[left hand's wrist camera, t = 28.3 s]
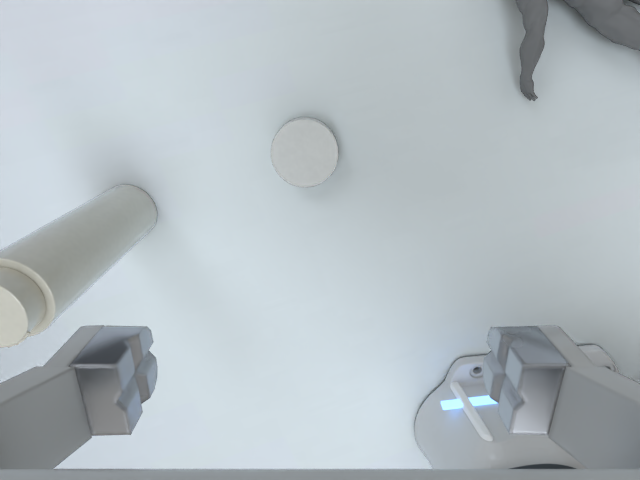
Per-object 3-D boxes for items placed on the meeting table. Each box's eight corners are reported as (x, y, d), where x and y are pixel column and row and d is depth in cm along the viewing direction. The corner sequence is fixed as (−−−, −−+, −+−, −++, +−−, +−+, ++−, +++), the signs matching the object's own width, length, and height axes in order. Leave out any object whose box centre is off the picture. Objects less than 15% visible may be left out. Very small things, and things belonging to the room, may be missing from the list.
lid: (330, 187, 39) (331, 192, 37) (268, 175, 38) (266, 180, 36) (343, 124, 37) (344, 126, 35) (278, 111, 36) (276, 113, 34)
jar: (91, 213, 40) (-80, 318, 23) (120, 172, 38) (-37, 252, 21) (137, 247, 41) (9, 371, 24) (168, 209, 39) (54, 312, 23)
